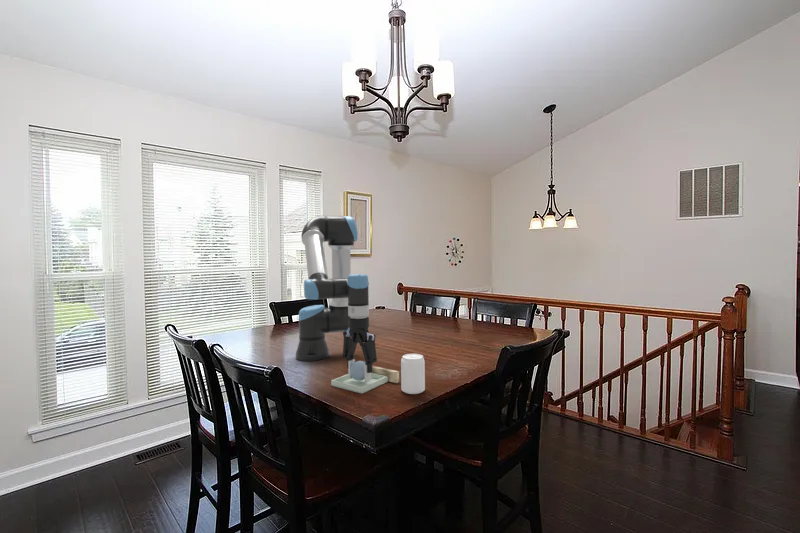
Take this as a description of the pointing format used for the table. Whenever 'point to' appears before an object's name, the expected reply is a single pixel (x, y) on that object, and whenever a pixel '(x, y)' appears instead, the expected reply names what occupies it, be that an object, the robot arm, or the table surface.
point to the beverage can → (412, 373)
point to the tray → (359, 383)
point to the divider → (386, 373)
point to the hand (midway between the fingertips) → (359, 379)
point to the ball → (357, 370)
